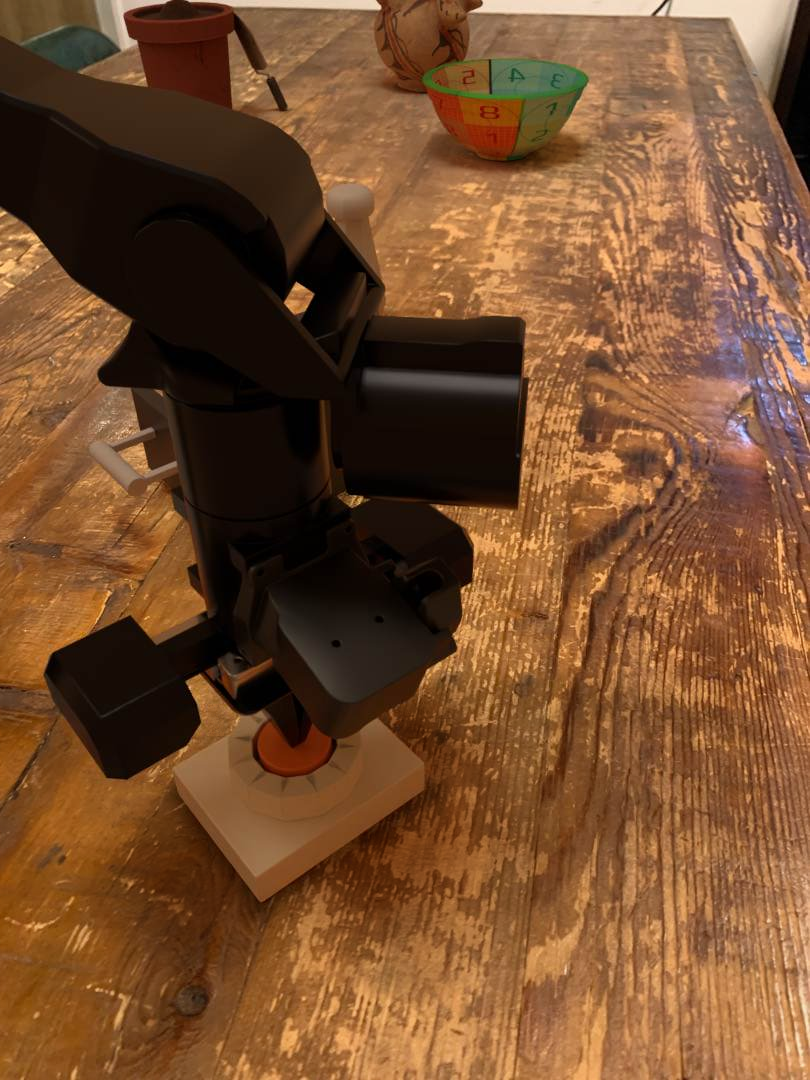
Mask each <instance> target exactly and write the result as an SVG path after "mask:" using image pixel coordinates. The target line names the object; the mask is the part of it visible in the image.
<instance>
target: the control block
mask: <svg viewBox="0 0 810 1080" xmlns="http://www.w3.org/2000/svg"><path fill="white" fill-rule="evenodd" d="M268 723H269V720H268V719H267V718H266V716H265V715H264V714H263V712H262V711H260V712H258V713H256V714H254V715H251V716H242V715H241V717H240V719H239V720H238V722H237V723H236V725H235V726H234V728H233V729H232V730H231V732H230V733H229V734H227V735H226V736H223V737H221V738H220V739H219V740H217V741H215V742H214V743H211V744H209V745H208V746H206V747H205V748H203V749H201V750H200V751H197V752H195V753H194V754H192V755H191V756H189V757H188V758H186V759H184V760H182V761H180V762H179V763H177V764H175V765H174V766H172V767H171V772H172V775H173V779H174V783H175V786H176V790H177V793H178V795H179V797H180V798H181V800H182V801H183V802H184V804H185V805H186V806H187V808H188V809H189V810H190V812H191V813H192V814H193V815H194V817H195V819H196V820H197V821H198V822H199V824H200V825H201V826H202V827H203V829H204V830H205V831H206V833H207V834H208V835H209V837H210V838H211V839H212V841H213V842H214V844H216V846H217V847H218V849H219V850H220V851H221V853H222V854H223V855H224V857H225V858H226V859H227V860H228V862H229V864H230V865H231V866H232V867H233V868H234V870H235V871H236V872H237V874H238V875H239V877H240V878H241V879H242V880H243V882H244V883H245V885H246V886H247V887H248V888H249V890H250V891H251V893H252V894H253V895H254V896H255V898H256V899H257V900H258V902H259V903H263V902H265V901H266V900H268V899H270V898H271V897H272V896H273V895H275V894H277V893H278V892H279V891H281V890H283V888H285V887H286V886H288V885H290V884H291V883H292V882H294V881H296V880H297V879H298V878H300V877H301V876H302V875H305V873H307V872H308V871H309V870H311V869H313V867H315V866H317V865H318V864H320V863H321V862H322V861H324V860H325V859H327V858H328V857H330V856H331V855H332V854H334V853H335V852H337V851H339V850H340V849H341V848H343V847H344V846H345V845H347V844H349V843H350V842H351V841H353V840H355V838H357V837H359V836H360V835H361V834H363V833H364V832H366V831H367V830H369V829H370V828H371V827H373V826H374V825H376V824H377V823H379V822H380V821H381V820H383V819H385V818H386V817H387V816H389V815H390V814H392V813H393V812H394V811H396V810H398V809H399V808H400V807H401V806H403V805H405V804H407V802H409V801H410V800H412V799H413V798H414V797H416V796H417V795H419V794H420V793H422V792H423V791H424V790H425V762H424V761H423V760H422V759H421V758H420V757H419V756H418V755H416V754H415V752H414V751H412V750H411V748H409V747H408V746H407V745H406V744H405V743H404V742H403V741H402V740H401V739H400V738H399V737H398V736H397V735H396V734H395V733H394V732H393V731H391V729H390V728H388V727H387V725H385V724H384V723H383V722H382V721H381V720H380V719H379V717H378V718H376V719H375V720H373V721H372V722H370V723H368V724H367V725H366V726H364V727H363V728H362V729H361V730H360V731H358V732H357V733H355V734H353V735H351V736H350V737H347V738H343V739H334V738H331V741H332V751H333V755H332V757H331V759H330V761H329V762H328V763H327V764H325V765H323V766H322V767H320V768H319V769H317V770H316V771H314V772H312V773H311V774H309V775H303V776H296V777H289V778H284V777H281V776H278V775H275V774H272V773H269V772H265V771H264V770H263V768H262V767H261V764H260V758H259V752H258V738H259V736H260V734H261V732H262V730H263V729H264V727H265V726H266V725H267V724H268Z"/></svg>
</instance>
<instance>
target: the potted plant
mask: <svg viewBox="0 0 810 1080" xmlns="http://www.w3.org/2000/svg"><path fill="white" fill-rule="evenodd" d="M122 17H123V21H124V24H125V28H126V32H127V35H128V38H130V39H131V40H134V41H136V42H137V47H138V50H139V51H138V52H139V56H140V59H141V63H142V68H143V72H144V77H145V81H146V86H147V87H152V88H158V89H165V90H172V91H176V92H180V93H183V94H186V95H189V96H193V97H196V98H199V99H202V100H205V101H208V102H211V103H214V104H217V105H220V106H224V107H227V108H230V109H233V96H232V95H233V94H232V82H231V81H232V80H231V69H230V68H231V67H230V65H231V64H230V51H229V37H228V35H231V34H232V33H233V32H235V34H236V36H237V39H238V41H239V43H240V45H241V47H242V49H243V51H244V54H245V56H246V59H247V61H248V62H249V64H250V66H251V68H252V69H253V70H254V72H255V74H256V75H258V76H266V77H267V78H266V80H265V81H266V84H267V87H268V89H269V91H270V93H271V95H272V97H273V100H274V101H275V104H276V106H277V108H278V110H279V111H281V112H282V111H285V110H286V109H288V103H287V101H286V99H285V97H284V95H283V92H282V90H281V88H280V85H279V83H278V81H277V80H276V77H275V76H273V75H272V76H271V74H270V73H269V71H265V70H266V69H267V68H268V62H267V60H266V57H265V55H264V53H263V51H262V49H261V46H260V45H259V42H258V40H257V38H256V36H255V34H254V31H253V30H252V28H251V27H250V25H248V24H247V22H246V21H245V20H244V19H243V18H242V17H241V16H240V15H239V14H238V13H237V12H236V11H235V10H234V7H233V6H232V5H228V4H226V3H220V2H210V1H188V0H168V1H166V2H165V3H157V4H156V3H155V4H149V5H146V6H145V5H144V6H139V7H135V8H132V9H129V10H126V11H125V12H123V15H122Z"/></svg>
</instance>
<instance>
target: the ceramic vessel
mask: <svg viewBox="0 0 810 1080" xmlns="http://www.w3.org/2000/svg"><path fill="white" fill-rule="evenodd" d="M375 1H376V2H377V4H378V5H380V9H379V11H377V13H376V14H377V15H376V16H375V21H374V25H373V31H374V32H373V33H374V41H375V45H376V49H377V54H378V56H379V58H380V59H381V61H382V63H383V64H384V65H385V66H386V67H387V69H390V70H391V71H393V72H394V74H395V75H396V77H397V86H398V87H399V88H401V89H403V90H407V91H409V92H417V93H428V91H427V89H426V87H425V86H424V84H423V81H422V78H423V76H424V75H425V74H426V73H427V72H428V71H430V70H432V69H434V68H437V67H440V66H443V65H447V64H451V63H456V62H462V61H465V59H466V56H467V54H468V52H469V46H470V45H469V44H470V37H471V36H470V25H469V20H468V13H470V12H473V11H475V10H478V9H480V8H482V6H483V5H484V1H483V0H375Z"/></svg>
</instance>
